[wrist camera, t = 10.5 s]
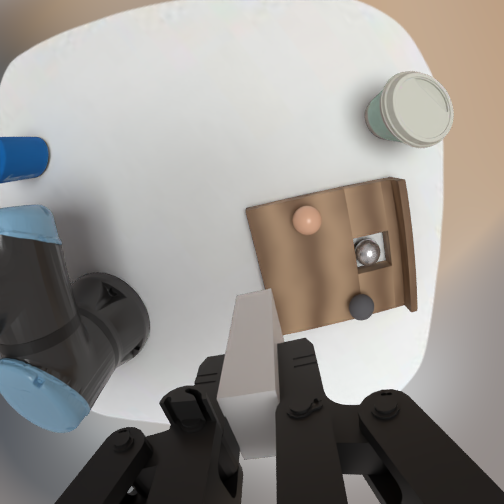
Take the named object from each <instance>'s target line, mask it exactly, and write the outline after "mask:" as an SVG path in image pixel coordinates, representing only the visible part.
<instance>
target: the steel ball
mask: <svg viewBox="0 0 504 504" xmlns="http://www.w3.org/2000/svg"><path fill="white" fill-rule="evenodd" d="M355 255H356V259H357V260H358V262H359V263H361V264H363V265H367V266H368V265H372V264H374V263H376V262H377V261H378V259H379V257H380V248H379V246H378V244H377V243H376V242H375V241H373V240H370V239H365V240H362V241H361V242H359V243H358V244H357V246H356V248H355Z"/></svg>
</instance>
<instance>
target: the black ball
mask: <svg viewBox="0 0 504 504" xmlns="http://www.w3.org/2000/svg"><path fill="white" fill-rule="evenodd" d="M373 311H374V302H373V300H372V299H371V298H370V297H369V296H368V295H365V294H359V295H356V296H354V297H353V298H352V299H351V301H350V303H349V312H350V314H351V316H352V317H353V318H355V319H357V320H365V319H368V318H369V317H370V316H371V315H372V314H373Z"/></svg>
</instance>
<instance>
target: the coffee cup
mask: <svg viewBox="0 0 504 504" xmlns="http://www.w3.org/2000/svg"><path fill="white" fill-rule="evenodd" d="M453 114H454V113H453V105H452V102H451V99H450V97H449V95H448V93H447V91H446V90H445V88H444V87H443V86H442V85H441V84H440V83H439V82H438V81H437V80H435V79H434V78H433V77H431V76H429V75H426V74H423V73H420V72H415V71H407V72H401V73H398V74H396V75H394V76H393V77H391V78H390V79H389V80H388V82H387V83H386V85H385V86H384V89H383V90H382V91H381V92H380V93H379V94H378V95H377V96H376V97H375V98H374V99H373V100H372V101H371V103H370V104H369V105H368V106H367V108H366V112H365V120H366V124H367V126H368V128H369V130H370V131H371V132H372V133H373V134H374V135H375V136H377V137H379V138H381V139H386V140H391V141H397V142H402V143H405V144H407V145H409V146H412V147H416V148H427V147H431V146H433V145H435V144H437V143H439V142H440V141H441V140H442V139H443V138H444V137H445V136H446V135H447V133H448V132H449V130H450V129H451V126H452V123H453Z"/></svg>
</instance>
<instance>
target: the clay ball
mask: <svg viewBox="0 0 504 504" xmlns="http://www.w3.org/2000/svg"><path fill="white" fill-rule="evenodd" d="M321 224H322V217H321V214H320V212H319V211H318V210H317V209H316V208H314V207H312V206H302V207H300V208H299V209H297V210H296V212H295V213H294V215H293V225H294V228H295V229H296V230H297V231H298V232H299V233H301V234H303V235H312V234H314V233H316V232H317V231H318V230H319V229H320V227H321Z"/></svg>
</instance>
